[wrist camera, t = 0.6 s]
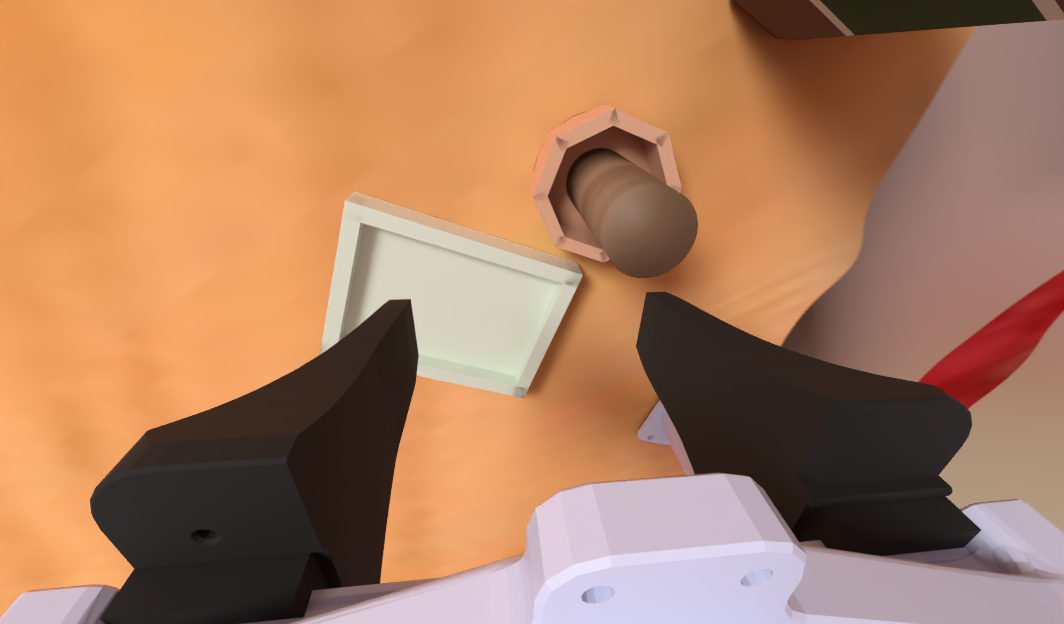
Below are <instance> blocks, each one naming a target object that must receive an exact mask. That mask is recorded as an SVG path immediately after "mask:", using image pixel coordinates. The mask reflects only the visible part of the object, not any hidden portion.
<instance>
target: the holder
mask: <svg viewBox="0 0 1064 624" xmlns="http://www.w3.org/2000/svg"><path fill="white" fill-rule="evenodd" d="M595 148H606V149H610V150H613V151H615V152H617V153H618V154H620V155H621V156H623V157H624V158H626V159H628V160H629V161H631V162H632V163H634V164H635V165H637V166H638V167H640V168H642V169H643V170H645V171H646V172H648V173H649V174H651V175H653V176H654V177H656V178H657V179H659V180H660V181H662V182H663V183H665V184H667V185H668V186H670V187H671V188H673V189H674V190H676V191H677V192H679V193H680V191H681V190H682V187H681V183H680V179H679V175H678V170H677V166H676V162H675V158H674V153H673V149H672V145H671V141H670V137H669V132H667V131H664V130H662V129H660V128H657V127H655V126H653V125H651V124H648V123H646V122H644V121H642V120H639V119H637V118H635V117H633V116H631V115H628V114H626V113H624V112H622V111H619V110H617V109H615V108H613V107H610V106H607V105H604V104H602V105H600V106H598V107H596V108H594V109H592V110H590V111H588V112H584V113H581V114H578V115H576V116H573V117H572V118H570V119H568V120H566V121H565V122H564V123H562V124H561V125H560V126H558V127H556V128H554V129H552V130H549V132H548V135H547V137H546V140H545V143H544V144H543V146H542V148H541V150H540V152H539V154H538V156H537V159H536V163H535V166H534V172H533V175H532V178H531V181H530V183H529V185H528V187H529V189H530V191H531V194H532V196H533V198H534V200H535V202H536V205H537V207H538V209H539V211H540V214H541V216H542V218H543V220H544V223H545V225H546V227H547V229H548V232H549V234H550V236H551V239H552V241H553V244H554V246H555V247H558V248H561V249H564V250H567V251H570V252H573V253H576V254H579V255H582V256H585V257H588V258H591V259H594V260H597V261H600V262H603V263H604V262H606V261H608V260H610V259H609V257H608V256H607V254H606V253H605V251H604V250H603V248H602V247H601V245H600V244H599V242H598V241H597V239H596V238H595V236H594V235H593V233H592V232H591V230H590V229H589V227H588V226H587V224H586V223H585V221H584V220H583V218H582V217H581V215H580V214H579V212H578V211H577V209H576V208H575V207H574V205H573V204H572V202H571V201H570V199H569V197H568V194H567V189H566V179H567V175H568V172H569V169H570V167H571V166H572V164H573V163H574V161H575V160H576V159H577V158H578V157H579V156H580V155H582V154H583V153H585V152H587V151H589V150H592V149H595Z"/></svg>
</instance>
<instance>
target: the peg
mask: <svg viewBox="0 0 1064 624" xmlns="http://www.w3.org/2000/svg"><path fill="white" fill-rule="evenodd" d="M566 189H567V194H568V197H569V199H570V201H571V202H572V204H573V205H574V207H575V208H576V209H577V211H578V212H579V214H580V215H581V217H582V218H583V220H584V221H585V223H586V224H587V226H588V227H589V229H590V230H591V232H592V233H593V235H594V236H595V238H596V239H597V241H598V242H599V244H600V245H601V247H602V248H603V250H604V251H605V253H606V254H607V256H608V257H609V259H610V260H611V262H612V263H613V264H614V266H615V267H616V268H617V269H618V270H620V271H621V272H623V273H624V274H626V275H629V276H632V277H637V278H649V277H654V276H658V275H661V274H663V273H665V272H667V271H669V270H671V269H672V268H674V267H675V266H676V265H678V264H679V263H680V262H681V261H682V260H683V259H684V258H685V257H686V255H687V254H688V253H689V251H690V250H691V248H692V246H693V244H694V241H695V238H696V235H697V228H698V220H697V215H696V212H695V209H694V207H693V205H692V204H691V202H690V201H689V200H688V199H687V198H686V197H685V196H683V195H682V194H681V193H679V192H677V191H676V190H674V189H673V188H671V187H670V186H668V185H667V184H665V183H663V182H662V181H660V180H659V179H657V178H656V177H654V176H653V175H651V174H649V173H648V172H646V171H645V170H643V169H642V168H640V167H638V166H637V165H635V164H634V163H632V162H631V161H629V160H628V159H626V158H624V157H623V156H621V155H620V154H618V153H617V152H615V151H613V150H610V149H606V148H595V149H592V150H589V151H587V152H585V153H583V154H582V155H580V156H579V157H578V158H577V159H576V160H575V161H574V163H573V164H572V166H571V167H570V169H569V172H568V175H567V179H566Z"/></svg>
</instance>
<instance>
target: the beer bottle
mask: <svg viewBox="0 0 1064 624" xmlns="http://www.w3.org/2000/svg"><path fill="white" fill-rule="evenodd" d="M734 1H735V2H736V3H738V4H739V5H740V6H741V7H742V8H743V9H744V10H745V11H747V12H748V13H749V14H750V15H751V16H752V17H753V18H754V19H755V20H757V21H758V22H759V23H760V24H761V25H762V26H763V27H764V28H766V29H767V30H768V31H769V32H770V33H771V34H772V35H773V36H774V37H776V38H777V39H813V38H826V37H839V36H852V35H865V34H878V33H891V32H904V31H917V30H930V29H943V28H957V27H970V26H983V25H995V24H1009V23H1022V22H1035V21H1047V20H1060V19H1064V0H734Z"/></svg>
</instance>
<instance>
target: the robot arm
mask: <svg viewBox="0 0 1064 624" xmlns="http://www.w3.org/2000/svg"><path fill="white" fill-rule="evenodd" d="M636 347H637V350H638V353H639V356H640V359H641V362H642V365H643V367H644V370H645V372H646V374H647V376H648V378H649V380H650V382H651V384H652V386H653V388H654V390H655V392H656V393H657V395H658V397H659V399H660V400H659V402H658V403H657V404H656V406H655V407H654V409H653V410H652V412H651V413H650V415H649V416H648V417H647V419H646V420H645V422H644V423H643V425H642V426H641V428H640V429H639V431H638V432H637V436H638V438H639V439H640V440H642V441H647V442H652V443H658V444H663V445H668V446H671V448H672V450H673V452H674V454H675V456H676V458H677V460H678V462H679V464H680V466H681V468H682V470H683V472H684V474H685V475H682V476H669V477H657V478H644V479H631V480H618V481H605V482H592V483H586V484H582V485H578V486H574V487H570V488H566V489H562V490H560V491H559V492H557V493H556V494H554V495H553V496H551V497H550V498H548V499H547V500H546V501H544V502H543V503H541V504H540V505H539V506H538V507H537V508H536V509H535V511H534V513H533V515H532V517H531V520H530V522H529V524H528V526H527V537H526V549H525V553H523V554H520V555H517V556H513V557H510V558H506V559H503V560H500V561H496V562H493V563H490V564H486V565H483V566H480V567H476V568H473V569H469V570H466V571H463V572H459V573H456V574H453V575H449V576H446V577H442V578H432V579H422V580H412V581H402V582H392V583H382V584H380V577H381V567H382V559H383V550H384V542H385V533H386V525H387V517H388V510H389V503H390V495H391V488H392V482H393V475H394V468H395V462H396V457H397V452H398V447H399V443H400V440H401V436H402V432H403V428H404V425H405V421H406V417H407V414H408V410H409V406H410V402H411V399H412V395H413V391H414V387H415V383H416V375H417V367H418V357H419V354H418V347H417V339H416V332H415V325H414V318H413V311H412V304H411V299H395V300H388V301H387V302H386V303H385V304H383V305H382V306H381V307H380V308H379V309H378V310H376V311H375V312H374V313H373V314H372V315H371V316H370V317H368V318H367V319H366V320H365V321H364V322H362V323H361V324H360V325H359V326H358V327H357V328H355V329H354V330H353V331H352V332H350V333H349V334H348V335H346V336H345V337H344V338H342V339H341V340H340V341H338V342H337V343H336V344H334V345H333V346H332V347H330V348H329V349H328V350H326V351H325V352H323V353H322V354H320V355H319V356H317V357H316V358H314V359H313V360H311V361H309V362H308V363H306V364H304V365H303V366H301V367H300V368H298V369H296V370H294V371H293V372H291V373H289V374H287V375H285V376H283V377H281V378H279V379H277V380H275V381H273V382H271V383H269V384H267V385H265V386H263V387H261V388H259V389H257V390H255V391H253V392H251V393H248V394H246V395H244V396H241V397H239V398H237V399H234V400H232V401H230V402H227V403H225V404H222V405H220V406H217V407H215V408H212V409H209V410H207V411H204V412H201V413H198V414H195V415H192V416H190V417H187V418H184V419H181V420H178V421H175V422H172V423H169V424H166V425H163V426H160V427H157V428H154V429H151V430H148V431H147V432H146V433H145V434H144V435H143V436H142V437H141V438H140V440H139V441H138V442H137V443H136V444H135V445H134V446H133V447H132V448H131V449H130V451H129V452H128V453H127V454H126V455H125V456H124V457H123V458H122V459H121V460H120V462H119V463H118V464H117V465H116V466H115V467H114V468H113V469H112V470H111V471H110V472H109V474H108V475H107V476H106V477H105V478H104V479H103V480H102V481H101V482H100V483H99V485H98V486H97V487H96V488H95V490H94V492H93V495H92V497H91V499H90V505H91V513H92V516H93V518H94V520H95V521H96V523H97V525H98V526H99V528H100V530H101V531H102V532H103V533H104V534H105V535H106V536H107V538H108V539H109V540H110V541H111V542H112V543H113V544H114V546H115V547H116V548H117V549H118V550H119V551H120V553H121V554H122V555H123V556H124V557H125V558H126V559H127V561H128V562H129V563H130V564H131V565H132V566H133V567H134V570H133V572H132V573H131V575H130V576H129V578H128V579H127V581H126V582H125V583H124V585H123V586H122V588H121V589H120V590H119V589H118V588H115V587H112V586H108V585H82V586H72V587H61V588H50V589H39V590H30V591H27V592H25V593H22V594H21V595H20V596H19V597H18V598H17V600H16V601H15V602H14V603H13V604H12V605H11V606H10V608H9V609H8V610H7V611H6V612H5V613H4V614H3V616H2V617H1V618H0V624H1064V533H1063V532H1062V531H1061V530H1059V529H1058V528H1057V527H1056V526H1054V525H1053V524H1052V523H1050V522H1049V521H1048V520H1047V519H1046V518H1044V517H1043V516H1042V515H1041V514H1039V513H1038V512H1037V511H1036V510H1034V509H1033V508H1032V507H1031V506H1029V505H1028V504H1027V503H1026V502H1024V501H1023V500H1018V499H1011V500H1002V501H1001V500H1000V501H990V502H979V503H974V504H970V505H968V506H966V507H964V508H962V509H958V508H957V507H956V506H955V505H954V504H953V503H952V502H951V501H950V500H948V498H947V497H946V496H949V495H950V494H951V493H952V488H951V486H950V485H948V484H947V483H946V482H945V481H944V480H943V479H942V478H941V477H940V476H938V475H939V474H940V473H941V471H942V470H943V469H944V468H945V466H946V465H947V464H948V463H949V462H950V460H951V459H952V458H953V457H954V455H955V454H956V453H957V452H958V450H959V449H960V448H961V447H962V445H963V444H964V442H965V441H966V439H967V438H968V436H969V433H970V430H971V426H972V420H971V413H970V412H969V410H968V409H967V408H966V407H965V406H964V405H963V404H961V403H960V402H959V401H957V400H956V399H954V398H953V397H951V396H950V395H949V394H947V393H946V392H944V391H943V390H941V389H940V388H938V387H936V386H933V385H929V384H924V383H918V382H913V381H907V380H902V379H896V378H891V377H885V376H880V375H876V374H872V373H867V372H863V371H859V370H855V369H851V368H847V367H843V366H839V365H836V364H832V363H828V362H825V361H822V360H818V359H815V358H812V357H809V356H805V355H802V354H799V353H796V352H794V351H791V350H788V349H785V348H782V347H780V346H777V345H775V344H772V343H770V342H767V341H765V340H762V339H760V338H757V337H755V336H753V335H751V334H748V333H746V332H744V331H742V330H740V329H738V328H736V327H734V326H732V325H730V324H728V323H726V322H724V321H722V320H720V319H718V318H716V317H714V316H712V315H710V314H708V313H706V312H705V311H703V310H701V309H699V308H697V307H695V306H693V305H692V304H690V303H688V302H686V301H684V300H682V299H680V298H678V297H676V296H674V295H672V294H669V293H667V292H646V298H645V303H644V308H643V313H642V318H641V324H640V329H639V334H638V339H637V344H636Z"/></svg>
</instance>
